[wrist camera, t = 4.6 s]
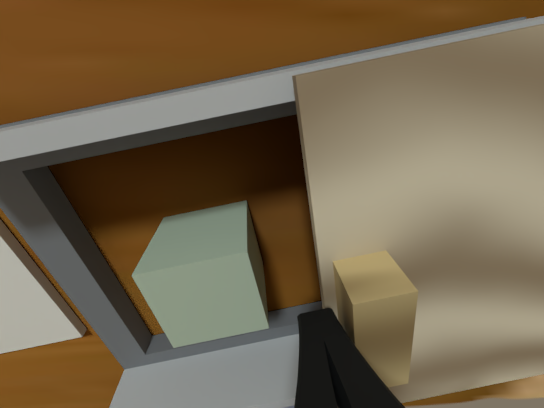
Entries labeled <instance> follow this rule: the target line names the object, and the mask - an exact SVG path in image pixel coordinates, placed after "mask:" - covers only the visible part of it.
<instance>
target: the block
mask: <svg viewBox="0 0 544 408" xmlns="http://www.w3.org/2000/svg"><path fill="white" fill-rule="evenodd" d="M132 277H133V279H134V281H135V283H136V284H137V286H138V288H139V289H140V291H141V293H142V295H143V296H144V298H145V300H146V301H147V303H148V305H149V307H150V308H151V310H152V312H153V313H154V315H155V317H156V319H157V320H158V322H159V324H160V325H161V327H162V329H163V331H164V332H165V334H166V336H167V337H168V339H169V341H170V343H171V344H172V346H173V348H176V347H181V346H186V345H191V344H195V343H200V342H205V341H210V340H215V339H220V338H225V337H229V336H234V335H239V334H244V333H249V332H254V331H259V330H263V329H268V328H269V320H268V310H267V299H266V288H265V277H264V267H263V262H262V258H261V254H260V250H259V246H258V242H257V238H256V235H255V231H254V227H253V223H252V219H251V215H250V211H249V208H248V204H247V200H246V201H241V202H236V203H231V204H226V205H221V206H217V207H212V208H207V209H202V210H197V211H193V212H188V213H183V214H178V215H173V216H169V217H164V218H163V220H162V222H161V223H160V225H159V227H158V229H157V231H156V232H155V234H154V236H153V238H152V240H151V241H150V243H149V245H148V247H147V249H146V250H145V252H144V254H143V256H142V258H141V259H140V261H139V263H138V265H137V267H136V268H135V270H134V272H133V274H132Z"/></svg>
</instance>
